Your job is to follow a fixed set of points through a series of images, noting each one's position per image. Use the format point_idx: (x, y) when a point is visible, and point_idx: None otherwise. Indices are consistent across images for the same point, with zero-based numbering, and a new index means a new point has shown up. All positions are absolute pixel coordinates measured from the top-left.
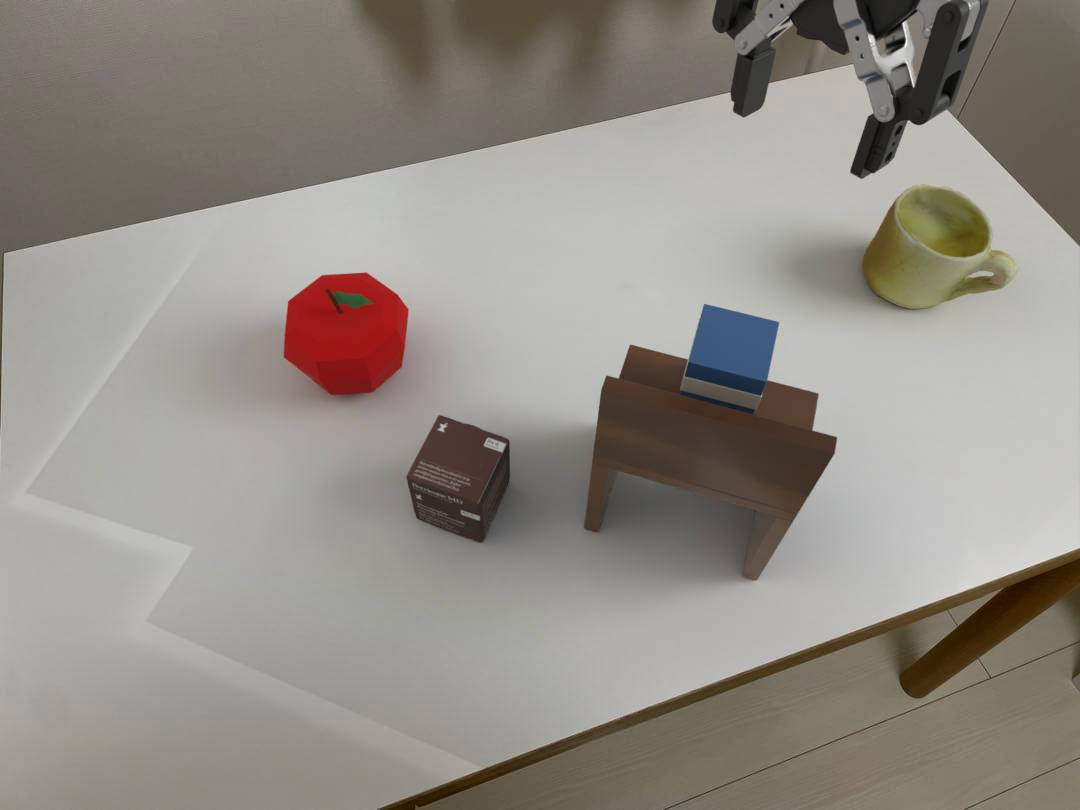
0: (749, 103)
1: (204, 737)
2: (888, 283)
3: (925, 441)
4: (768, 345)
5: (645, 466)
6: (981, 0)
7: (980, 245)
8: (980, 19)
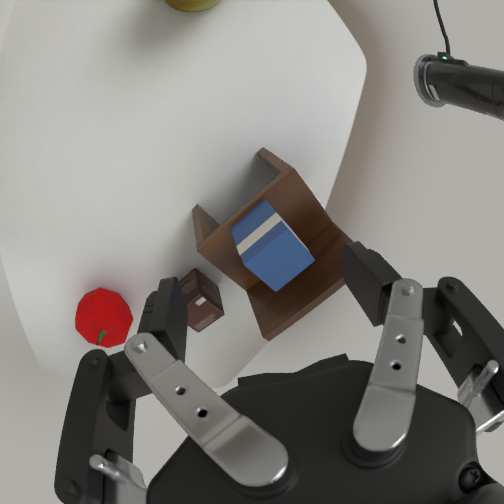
0: (184, 311)
1: (234, 360)
2: (200, 7)
3: (294, 64)
4: (297, 245)
5: None
6: None
7: None
8: None
